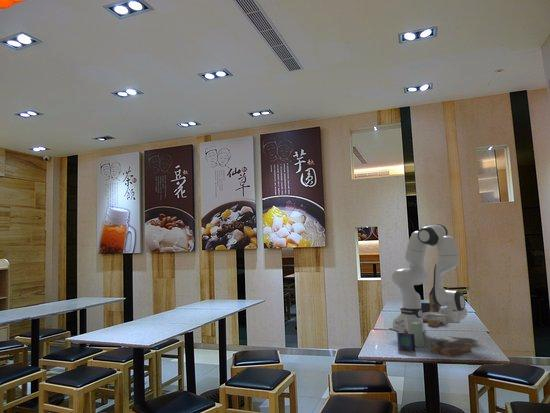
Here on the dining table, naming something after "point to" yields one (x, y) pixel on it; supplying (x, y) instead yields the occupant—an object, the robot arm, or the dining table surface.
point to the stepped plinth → (451, 350)
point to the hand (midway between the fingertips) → (431, 318)
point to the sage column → (418, 333)
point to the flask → (406, 341)
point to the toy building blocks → (430, 309)
